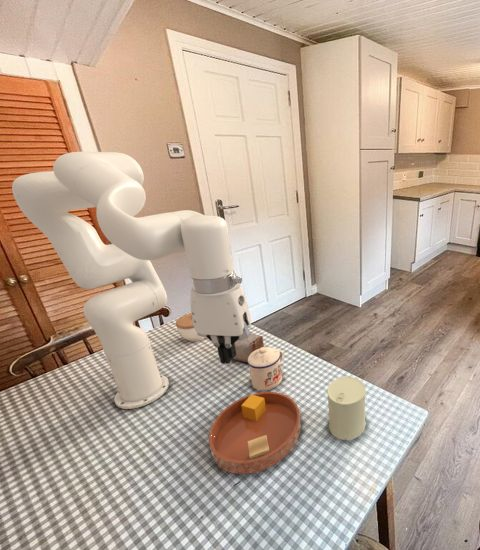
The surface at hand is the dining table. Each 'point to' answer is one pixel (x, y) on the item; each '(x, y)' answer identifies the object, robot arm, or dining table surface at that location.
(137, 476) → the dining table surface
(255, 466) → the bowl
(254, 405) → the mustard block
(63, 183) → the robot arm
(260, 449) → the birch block
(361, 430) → the can
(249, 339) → the food item
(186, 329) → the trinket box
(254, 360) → the teacup with lid
